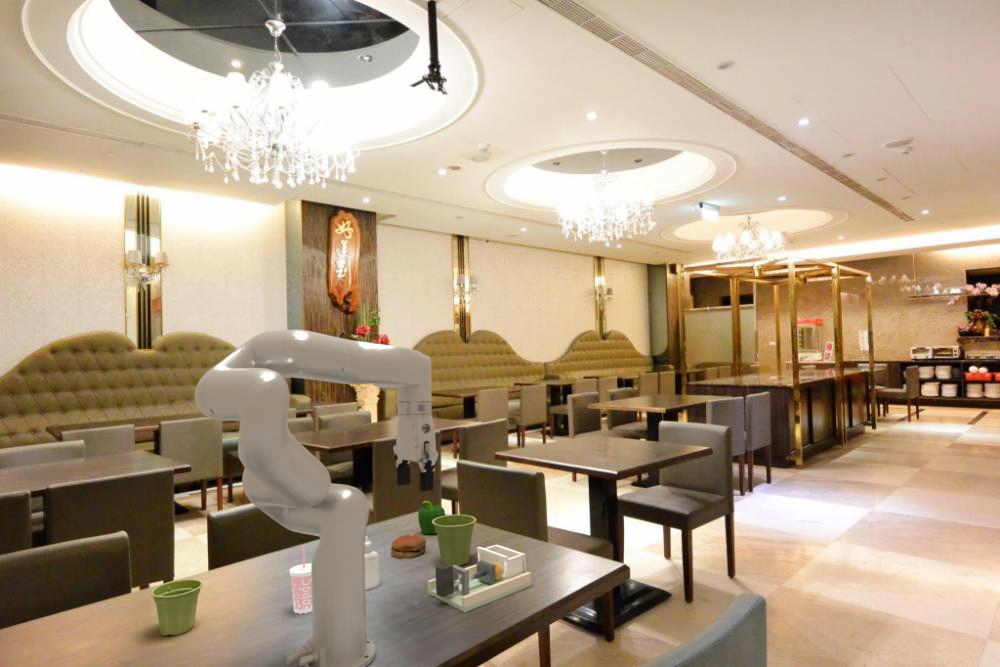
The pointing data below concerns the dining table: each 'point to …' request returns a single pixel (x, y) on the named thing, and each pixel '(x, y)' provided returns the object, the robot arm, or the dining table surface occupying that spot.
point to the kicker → (446, 578)
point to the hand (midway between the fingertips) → (414, 487)
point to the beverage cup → (301, 586)
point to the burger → (408, 546)
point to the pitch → (479, 591)
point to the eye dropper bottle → (371, 566)
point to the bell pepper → (429, 517)
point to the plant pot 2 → (454, 538)
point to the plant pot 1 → (176, 605)
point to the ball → (498, 570)
